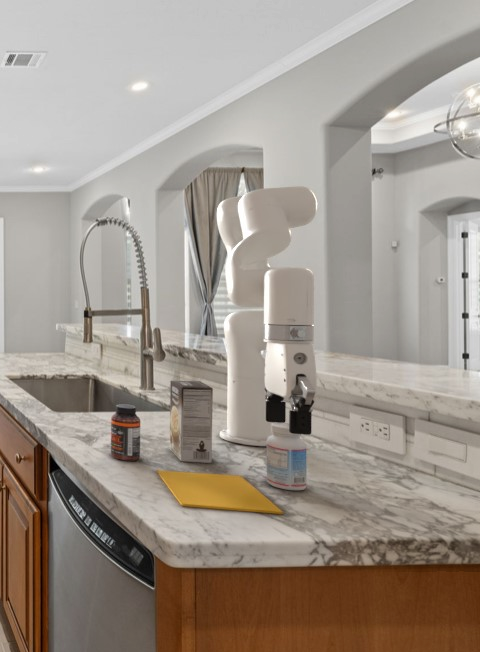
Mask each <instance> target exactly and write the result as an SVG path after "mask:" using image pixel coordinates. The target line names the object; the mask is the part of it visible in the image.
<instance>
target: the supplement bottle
mask: <svg viewBox="0 0 480 652" xmlns="http://www.w3.org/2000/svg"><path fill="white" fill-rule="evenodd" d="M136 413H137V408H136V406H135V405H133V404H127V403H121V404H120V403H119V404H116V405H115V413H114V414H113V415H112V416H111V418H110V419H111V420H110V456H111V457H113V458H114V459H117V460H119V461H126V462H127V461H130V462H134V461H137V460H139V459H140V457H141V419H140V417H139V416H138V415H137V414H136Z"/></svg>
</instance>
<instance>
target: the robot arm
mask: <svg viewBox="0 0 480 652" xmlns="http://www.w3.org/2000/svg"><path fill="white" fill-rule="evenodd" d="M317 211H318V202H317V198H316V195H315V194H314V192H313V190H311V189H310V188H309V187H306V186H301V185H298V186H296V185H295V186H283V187H281V186H280V187H267V188H266V187H265V188H257V189H253V190H250V191H249V192H247V193H245V194H243V195H238V196H232V197H229V198H226V199H224V200H222V201H220V203H219V204H218V207H217V210H216V222H217V223H216V224H217V229H218V233H219V236H220V238H221V241H222V243H223V245H224V247H225V250H226V253H227V258H226V261H225V266H224V267H225V268H224V278H225V285H226V292H227V296H228V298H229V300H230V302H231V304H233V305H235V306H236V307H241V308H263V310H261V309H256V310H255V309H254V310H253V309H247V310H236V311H234V312H231V313H230V314H228V315H227V316H226V317H225V318H224V321H223V335H224V339H225V346H226V357H227V359H226V360H227V385H226V386H227V388H226V390H227V393H226V395H227V397H226V399H227V401H226V429H222V430H220V431H219V437H220V438H221V439H222V440H225V441H227V442H230V443H234V444H238V445H239V444H240V445H244V446H253V447H254V446H255V447H267V439H268V437H269V436H271V435H273V433H272V432H271V424H272V423H286V421H287V420H286V417H287V416H286V413H287V412H286V410H287V408H286V407H287V405H286V403H287V402H286V401H284V400H285V399H288V401H289V404H290V407H291V409H289V411H288V415H289V416H288V418H289V419H288V422H289V423H288V424H289V432H290V433H292V434H301V435H311V434H312V416H313V415H312V412H313V411H314V410H313V409H314V407H313V406H314V404H315V399H316V398H317V396H318V385H317V384H318V382H317V380H318V379H317V367H316V356H315V353H314V352H315V351H314V350H315V349H314V338H315V337H314V331H315V329H314V324H315V323H314V321H315V320H314V319H315V316H314V315H315V312H314V311H315V275H314V273H313V271H312V270H311V269H309V268H306V267H289V266H285V267H284V266H280V267H279V266H277V267H276V266H275V267H273V266H272V267H271V266H270V265H269V258H272V257H275V256H277V255H279V254H281V253H282V252H284V251H285V250H287V248H288V247H289V246H290V245H291V242H292V232H291V229H294V228H299V227H303V226H306V225H309V224H310V223H311V222H312V221H313V220H314V219H315V217H316V214H317ZM262 351H265V356H264V355H263V353H262Z"/></svg>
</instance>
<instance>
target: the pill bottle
mask: <svg viewBox="0 0 480 652" xmlns="http://www.w3.org/2000/svg"><path fill="white" fill-rule="evenodd" d="M271 432H272V433H273V435H271V436H269V437H268V439H267V446H266V482H267V483H268V484H269V485H271V486H272V487H275V488H276V489H281V490H285V491H303V490H305V489H307V443H306V442H305V440H304V439H303V438H301V436H302V434H292V433H290V432H289V423H287V422H285V423H277V422H273V423H272V424H271Z"/></svg>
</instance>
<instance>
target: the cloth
mask: <svg viewBox="0 0 480 652" xmlns="http://www.w3.org/2000/svg"><path fill="white" fill-rule="evenodd" d="M156 473H157V474H158V476H159V477H160V478H161V480H162V481H163V482H164V484H165V485H166V487H167V488H168V489H169V490H170V492H171V493H172V495H173V496H174V497H175V499H176V500H177V502H178V503H179V505H180V506H181V507H189V508H200V509H201V508H202V509H213V510H226V511H227V510H228V511H238V512H248V513H249V512H251V513H262V514H276V515H277V514H278V515H284V511H282V509H280V508H279V507H278V506H277V505H276V504H275V503H274V502H272V501H271V500H270V499H268V498H267V497H266V496H265V495H264V494H263V493H261V492H260V491H259V490H258V489H257V488H255V487H254V486H253V485H252V484H251V483H250V482H249V481H248V480H246V479H245V478H244V477H243V476H241V475H234V474H219V473H203V472H191V471H175V470H173V471H172V470H162V469H161V470H159V469H157V470H156Z"/></svg>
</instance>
